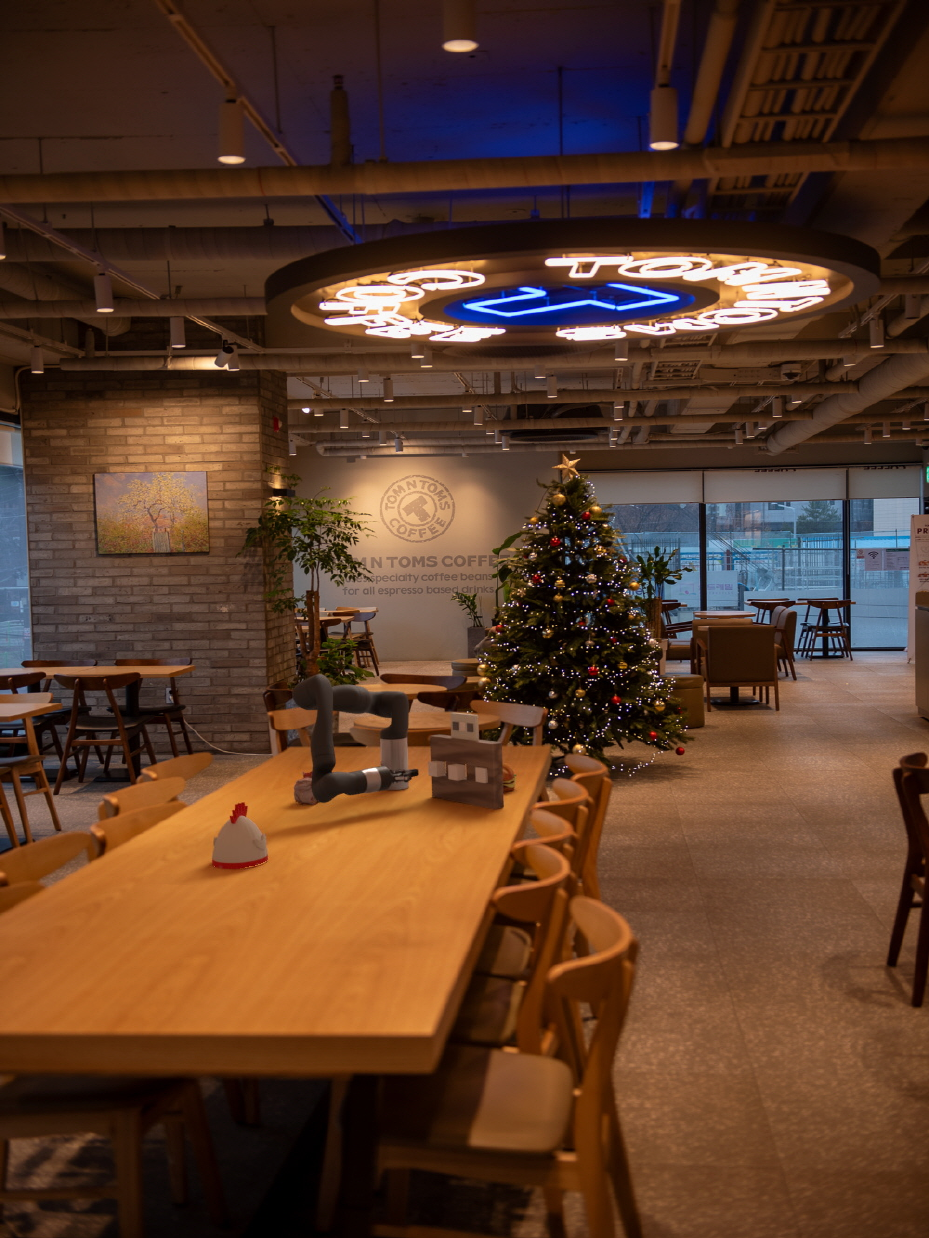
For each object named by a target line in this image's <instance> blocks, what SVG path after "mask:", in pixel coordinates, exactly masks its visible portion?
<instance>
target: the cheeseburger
mask: <svg viewBox="0 0 929 1238" xmlns="http://www.w3.org/2000/svg"><path fill="white" fill-rule="evenodd" d="M516 777H517V774H515V773H514V770H513V768H512V767H511V765H510V764H508V763H506V762H503V792H508V791H513V790H514V789H515V787H516V781H517V778H516Z"/></svg>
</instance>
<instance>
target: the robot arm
mask: <svg viewBox="0 0 929 1238" xmlns="http://www.w3.org/2000/svg"><path fill="white" fill-rule="evenodd" d="M291 695H292V700H293V702H294V703H295V705H297V707H299V708H301V709H303V710H305V711H316V712H317V713H316V718H315V719H316V720H315V723H314V726H313V730H312V732H311V733H312V734H311V737H310V743H309V744H310V754H311V761H312V763H311V764H312V770H311V771H312V780H311V789H312V793H313V796H314V797H315V799H316V800H317V801H318V802H319V803H321V804H326V803H329V802H330V801H332V800H334V799H335V798H336V797H338V796H339V795H343V794H344V795H346V796H356V795H360V794H361V795H362V794H371V793H372V794H373V793H376V792H377V793H378V792H383V791H388V790H389V791H396V790H398V791H400V790H405V789H408V788H409V787H410V785H409V783H410V782H411V780H413V779H412V778H413V777H414V778H415V777H418V776H419V775H420V773H419V768H410V769H409V757H408V756H409V755H408V732H409V725H410V724H409V721H410V720H409V718H410V703H409V699H408V695H407V694H406V693H405V692H404V691H398V690H396V691H394V690H382V691H370V690H368V689H367V688H366V687H364V686H360V685H354V684H339V685H333V686H332V683H331V681H330V680H329V679H328V677H327V676H326V675H324V674H321V673H318V674H314V675H312V676H310V677H308V678H306V679H304V680H302V681H300V682H299V683H298V684H296V685H295V686H294V688H293V689H292V693H291ZM333 712H339V713H340V712H341V713H345V714H354V715H355V714H356V715H362V714H370V715H373V716H376V717H380V718H384V719H391V721H390V722H391V723H390V725H389V726H387V727H385V728H383V729H381V730H380V731H379V738H380V739H379V740H380V743H379V744H380V765H379V766H374V767H373V766H372V767H367V768H363V769H359V770H355V771H349V772H347V771H333V770H334V768H335V767H336V764H337V759H336V752H335V745H334V738H333V737H334V736H333V722H334V721H333V719H334V718H333V715H334V713H333ZM318 802H317V803H318Z"/></svg>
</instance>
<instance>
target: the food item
mask: <svg viewBox="0 0 929 1238" xmlns="http://www.w3.org/2000/svg"><path fill="white" fill-rule="evenodd" d="M302 776H303V777H302V778H301V779H298V780H296V781H295V784H294V786H293V797H294V801H295V803H297V804H299V805H304V806H305V805H308V806H312V805H313V806H314V805H315V806H316V804H318V801H317V800H316V799H315V797H314V796H313V793H312V789H311V780H312V770H311V771H309V772H304V771H302Z"/></svg>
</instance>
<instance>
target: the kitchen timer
mask: <svg viewBox="0 0 929 1238" xmlns="http://www.w3.org/2000/svg"><path fill="white" fill-rule="evenodd" d="M248 809H249V806H248V805H246V802H238V803H237V804H234V809H232V810H231V812H232V815H229V819H228V820H227V821H226V822H225V823H224V824H223V826H222V827H221V828H220V830H219V832H218V834H217V837H216V836H214V837H213V841H212V842H213V843H212V844H213V845H212V846H213V850H212V856H211V861H212V862H211V865H212V867H214V866H215V867H214V868H216V869H221V868H222V869H221V870H241V869H240V868H245V867H249V866H255V865H258V864H261V863H263V862H265V861H267V860H268V861H269V852H268V847H267V837H266V834H265V833H262V831H261V830H260V828H259V827H258V826H257V824H256V823H255V822H254V821H252V820H251V819H250V818H249V817H247V815H248V814H247V813H248ZM268 861H267V862H268ZM245 869H246V868H245Z"/></svg>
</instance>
